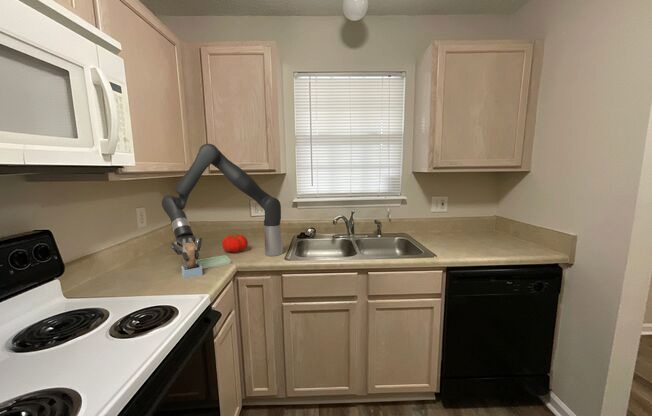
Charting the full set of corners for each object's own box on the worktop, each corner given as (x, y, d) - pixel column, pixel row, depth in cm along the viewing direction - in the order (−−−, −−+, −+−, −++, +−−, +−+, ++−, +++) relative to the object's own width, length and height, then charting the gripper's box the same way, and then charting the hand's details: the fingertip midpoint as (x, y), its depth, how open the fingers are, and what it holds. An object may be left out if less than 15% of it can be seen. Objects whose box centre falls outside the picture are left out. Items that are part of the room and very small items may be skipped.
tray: (226, 258, 151) (225, 254, 151) (231, 264, 141) (231, 260, 141) (194, 264, 143) (194, 260, 142) (197, 271, 133) (197, 267, 132)
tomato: (243, 246, 176) (242, 231, 175) (251, 252, 162) (250, 236, 161) (219, 250, 168) (218, 234, 167) (226, 256, 155) (224, 239, 153)
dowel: (196, 272, 129) (193, 241, 127) (197, 274, 126) (194, 243, 124) (187, 273, 127) (184, 242, 125) (188, 276, 124) (185, 244, 122)
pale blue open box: (200, 271, 132) (199, 262, 132) (202, 276, 126) (202, 267, 125) (182, 275, 128) (181, 265, 127) (184, 280, 122) (183, 270, 121)
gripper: (166, 227, 124) (176, 258, 117) (199, 222, 134) (209, 251, 127) (164, 236, 129) (174, 267, 122) (196, 231, 138) (206, 260, 131)
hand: (192, 259), depth 124 cm, fingers closed on dowel, 3 cm apart
